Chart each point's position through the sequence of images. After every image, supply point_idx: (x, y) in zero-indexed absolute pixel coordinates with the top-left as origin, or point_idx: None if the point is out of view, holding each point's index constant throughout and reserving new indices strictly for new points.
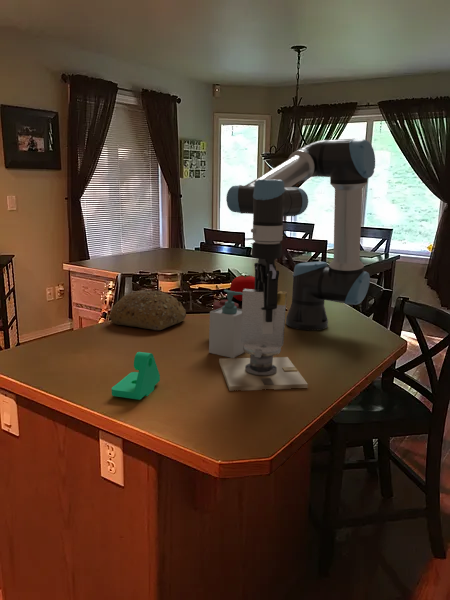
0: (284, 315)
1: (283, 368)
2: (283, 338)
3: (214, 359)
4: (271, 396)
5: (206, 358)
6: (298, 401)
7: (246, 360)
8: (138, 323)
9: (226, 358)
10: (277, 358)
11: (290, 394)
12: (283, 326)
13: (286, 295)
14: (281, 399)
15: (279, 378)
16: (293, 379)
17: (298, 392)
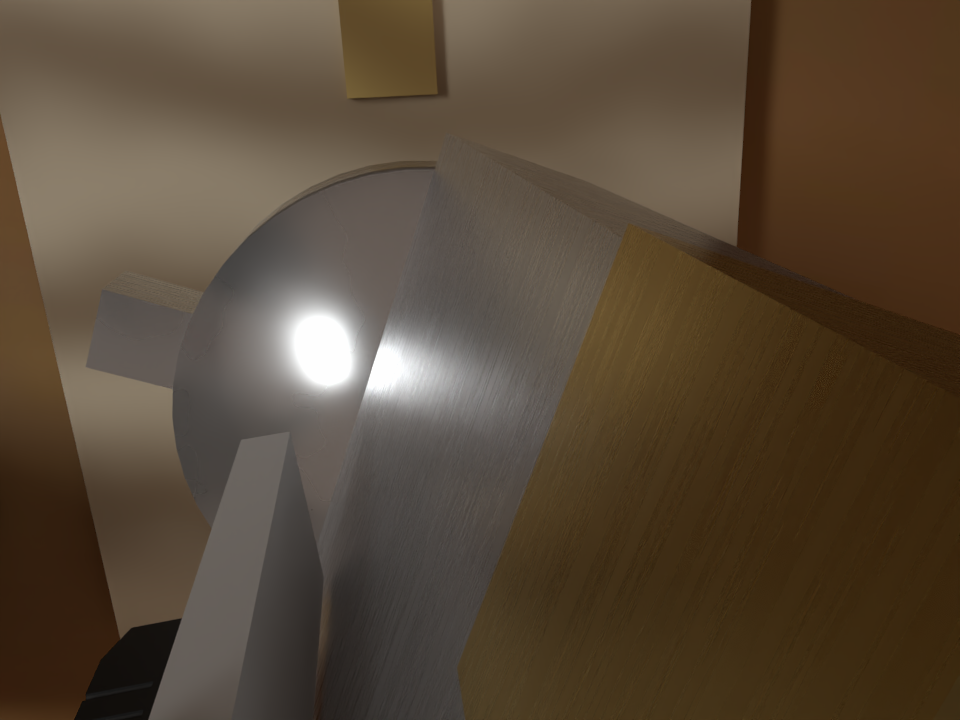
0: (671, 230)
1: (380, 92)
2: (493, 151)
3: (53, 652)
4: (833, 280)
5: (38, 710)
6: (952, 90)
7: (145, 420)
8: None
9: (112, 586)
10: (37, 90)
11: (824, 125)
12: (656, 215)
13: (929, 363)
14: (894, 215)
15: (605, 178)
16: (638, 47)
17: (799, 46)
